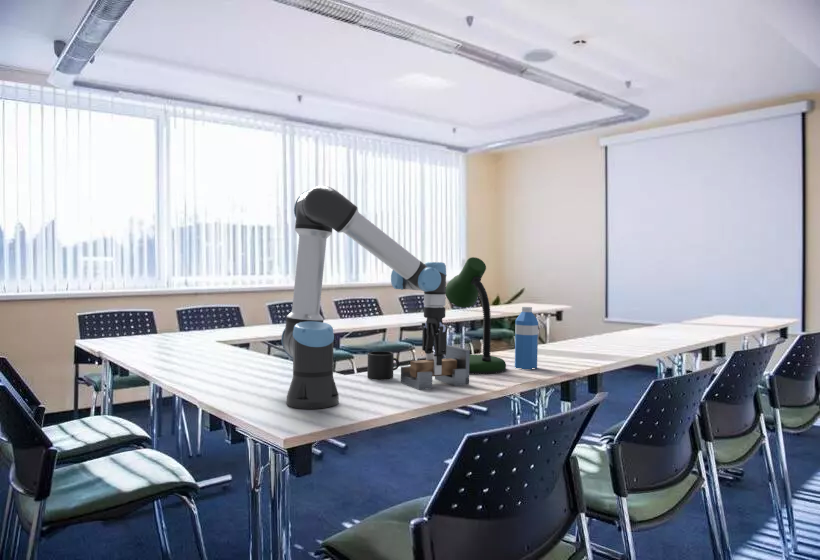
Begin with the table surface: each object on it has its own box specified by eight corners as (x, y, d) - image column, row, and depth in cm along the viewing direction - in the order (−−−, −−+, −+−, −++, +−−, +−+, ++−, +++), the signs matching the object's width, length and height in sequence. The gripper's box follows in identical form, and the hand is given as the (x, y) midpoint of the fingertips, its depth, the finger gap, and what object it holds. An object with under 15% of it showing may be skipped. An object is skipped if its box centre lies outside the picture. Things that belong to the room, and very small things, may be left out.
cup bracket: (454, 386, 191) (455, 351, 191) (434, 379, 202) (435, 346, 202) (469, 384, 194) (469, 350, 194) (448, 377, 205) (449, 345, 205)
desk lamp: (430, 362, 237) (432, 257, 236) (476, 360, 246) (478, 258, 245) (465, 376, 209) (467, 256, 208) (516, 372, 218) (518, 257, 217)
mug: (403, 379, 202) (404, 354, 202) (372, 381, 197) (372, 355, 197) (394, 374, 211) (394, 350, 210) (364, 376, 206) (364, 351, 206)
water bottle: (510, 366, 232) (511, 306, 231) (530, 365, 234) (531, 306, 234) (521, 370, 223) (522, 307, 222) (541, 369, 226) (543, 307, 225)
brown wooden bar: (415, 377, 189) (416, 362, 189) (410, 375, 193) (410, 360, 193) (456, 374, 196) (457, 360, 196) (450, 372, 200) (450, 358, 200)
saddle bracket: (419, 389, 184) (419, 373, 184) (400, 382, 195) (400, 366, 195) (432, 388, 186) (432, 372, 186) (413, 381, 198) (413, 365, 198)
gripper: (457, 308, 188) (456, 376, 188) (430, 304, 203) (429, 368, 204) (439, 308, 184) (437, 378, 185) (412, 305, 200) (411, 369, 200)
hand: (433, 373), depth 194 cm, fingers closed on brown wooden bar, 5 cm apart
